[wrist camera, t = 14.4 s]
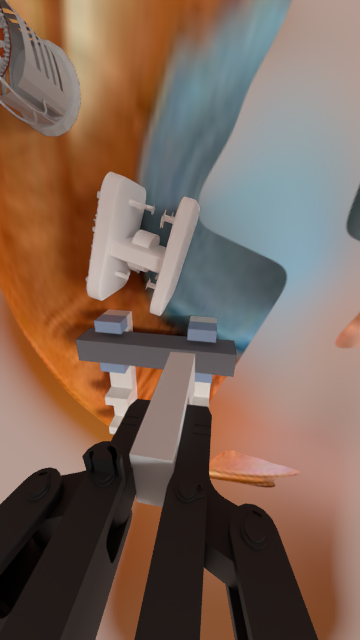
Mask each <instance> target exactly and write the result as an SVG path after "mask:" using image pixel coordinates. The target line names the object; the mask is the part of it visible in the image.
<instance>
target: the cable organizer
mask: <svg viewBox="0 0 360 640" xmlns="http://www.w3.org/2000/svg"><path fill="white" fill-rule="evenodd" d="M97 198H99V201H98V208H97V214H96V215H95V216H96V219H93V220H94V221H95V224H96V225H95V227H93V229H92V231H93V232H94V235H93V237H94V239H93V241H92V242H93V244H92V245H91V247H92V250H91V256H90V260H89V262H90V265H89V270H88V273H89V275H88V277H86V281H87V284H86V285H87V287H86V290H87V292H88V295H89V296H90V297H92V298H95V299H97V300H100V301H103V300H104V299H106V298H107V297H109V296H110V295H112V294H113V293H115V292H116V291H118V290H119V289H121V288H122V287H124V286H125V284H126V283H127V280H128V278H129V275H130V271H131V270H133V271H136V272H137V274H138V272H139V273H140V271H143V272H148V271H149V270H151V271H154V272H156V273H157V275H156V278H155V280H156V279H157V282H156V284H154V283H151V282H150V281H151V280H150V278H149V281H148V283H147V284H146V285H147V286H146V289H147V287H150V288H152V289H154V293H153V297H152V300H151V304H150V313H152V314H155V315H158V316H161V314H162V313H163V311H164V309H165V308H166V306H167V304H168V302H169V301H170V299H171V297H172V296H173V293H174V291H175V289H176V286H177V283H178V280H179V276H180V273H181V270H182V267H183V264H184V261H185V258H186V255H187V252H188V249H189V246H190V243H191V240H192V237H193V233H194V230H195V227H196V224H197V221H198V217H199V213H200V206H199V204H198V202H197V201H196V200H194V199H191V198H189V197H186V196H184V197H183V198H182V200H181V202H180V204H179V207H178V209H177V212H176V215H175V217H174V216H173V214H172V216H171V217H170V216H168V215H166V211H165V212H164V214H163V216H162V218H161V223H160V228H161V227H162V229H163V225H164V221H166V222H169V223H172V224H173V226H172V229H171V233H170V236H169V240H168V243H167V247H164V246H161V245H159V243H160V237H159V236H158V235H156V234H153V233H150V232H147V231H145V230H140V226H141V222H142V217H143V213H144V209H145V210H148V211H151V214H152V215H153V214H154V211H155V208H154V207H155V204H154V206H153V207H152V206H150V205H147V204H145V203H146V190H145V188H144V187H142V186H140V185H139V184H137V183H135V182H133V181H132V180H130V179H128V178H126V177H124V176H122V175H119V174H116V173H113V172H109V173H107V175H106V176H105V178H104V180H103V183H102V186H101V190H100V191H98V192H97ZM158 274H159V275H158Z"/></svg>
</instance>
